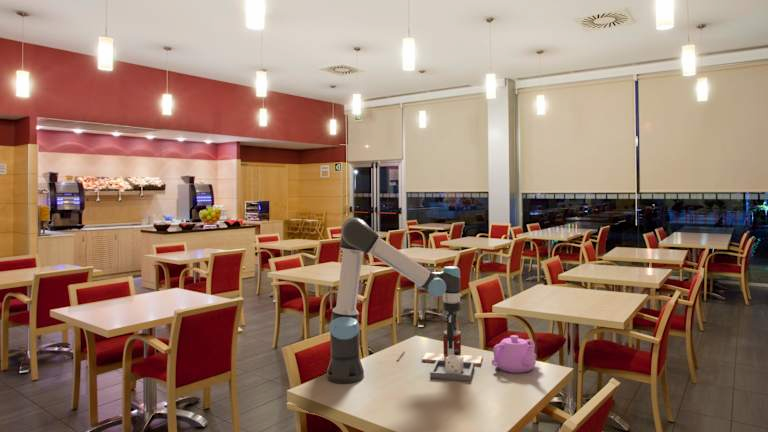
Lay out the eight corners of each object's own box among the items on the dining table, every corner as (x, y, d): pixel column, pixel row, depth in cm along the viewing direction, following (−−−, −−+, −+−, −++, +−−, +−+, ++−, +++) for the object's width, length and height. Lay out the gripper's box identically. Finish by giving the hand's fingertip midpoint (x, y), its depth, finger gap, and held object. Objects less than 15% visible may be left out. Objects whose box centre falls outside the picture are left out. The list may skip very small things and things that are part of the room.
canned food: (443, 358, 226) (442, 333, 225) (444, 353, 234) (443, 329, 233) (460, 359, 224) (460, 334, 224) (461, 353, 232) (460, 329, 232)
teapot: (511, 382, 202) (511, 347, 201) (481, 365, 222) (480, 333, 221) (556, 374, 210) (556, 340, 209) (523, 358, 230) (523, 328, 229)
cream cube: (445, 358, 211) (460, 360, 208) (449, 354, 216) (463, 356, 214) (445, 373, 211) (459, 375, 208) (449, 368, 216) (463, 370, 214)
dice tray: (430, 378, 207) (430, 372, 207) (436, 365, 223) (436, 359, 223) (470, 381, 203) (470, 375, 203) (474, 368, 219) (473, 362, 219)
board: (396, 361, 229) (396, 358, 229) (402, 352, 241) (402, 349, 241) (480, 367, 220) (480, 364, 220) (482, 357, 232) (482, 355, 232)
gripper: (457, 307, 217) (457, 360, 218) (463, 297, 237) (463, 345, 238) (439, 306, 219) (440, 359, 220) (446, 296, 239) (447, 344, 240)
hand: (452, 352), depth 229 cm, fingers closed on canned food, 8 cm apart
